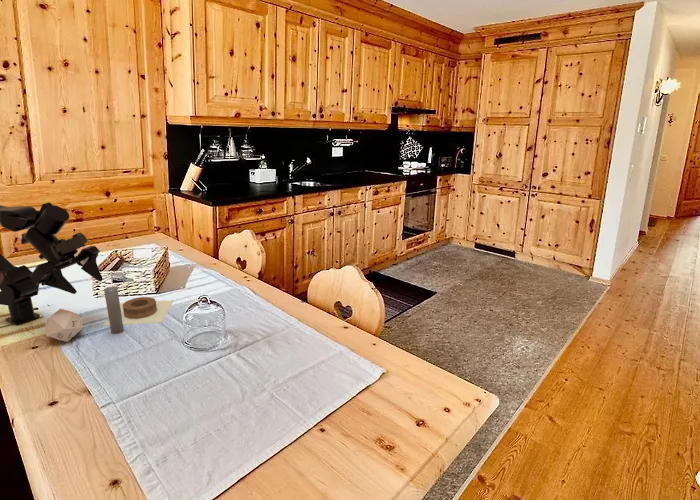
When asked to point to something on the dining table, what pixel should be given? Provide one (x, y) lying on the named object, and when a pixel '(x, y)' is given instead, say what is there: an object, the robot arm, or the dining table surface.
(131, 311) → the bead
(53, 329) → the die
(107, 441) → the dining table surface
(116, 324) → the grey rounded peg
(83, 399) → the dining table surface
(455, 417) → the dining table surface
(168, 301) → the mat
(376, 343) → the dining table surface
